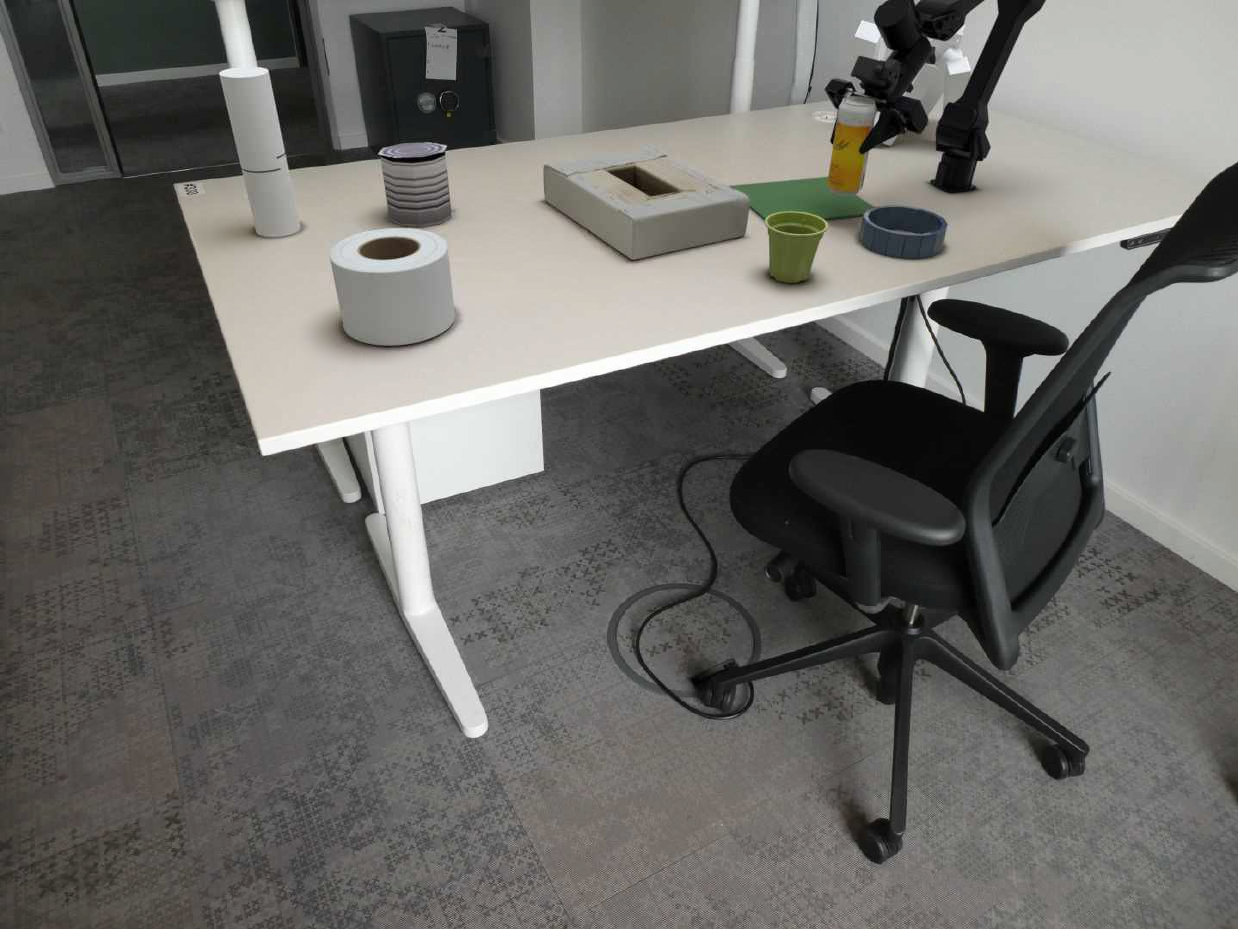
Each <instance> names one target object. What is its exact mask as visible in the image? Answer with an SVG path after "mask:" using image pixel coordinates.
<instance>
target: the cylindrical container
mask: <svg viewBox="0 0 1238 929" xmlns="http://www.w3.org/2000/svg"><path fill="white" fill-rule="evenodd" d="M218 75H219V79H220V84H221V88H222V92H223V97H224V100H225V104H226V107H227V113H228V117H229V121H230V125H231V126H230V127H231V130H232V135H233V139H234V144H235V147H236V152H237V155H238V156H237V157H238V159H239V164H240V168H241V173H242V177H243V181H244V184H245V185H244V186H245V190H246V194H247V198H248V203H249V206H250V211H251V216H252V220H253V223H254V228H255V232H256V234H257V235H258V236H261V237H265V238H281V237H282V238H283V237H287V236H290V235H293V234H296V233H298V232H299V231H300V230H301V225H300V219H299V213H298V209H297V204H296V199H295V195H294V194H295V193H294V190H293V184H292V180H291V174H290V169H289V165H288V160H287V154H286V150H285V146H284V145H285V144H284V141H283V135H282V131H281V130H282V129H281V125H280V120H279V116H278V111H277V105H276V101H275V96H274V95H275V94H274V90H273V87H272V80H271V76H270V72H269V69H268V68H265V67H260V66H259V67H258V66H239V67H230V68H226V69H224V70H220V71H219V73H218Z"/></svg>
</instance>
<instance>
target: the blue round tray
mask: <svg viewBox="0 0 1238 929" xmlns="http://www.w3.org/2000/svg"><path fill="white" fill-rule="evenodd" d="M873 207H874V208H872V209H869V210H867V211H866V212H865V214H864V215H863V216H862V220H861V224H860V225H861V226H860V231H859V235H858V239H859V242H860V243H861V244H862V246H864V247H866V248H867V249H868V250H869V251H871V252H873V253H876V254H877V253H878V254H880V255H883V256H887V257H893V258H899V259H915V260H916V259H918V260H919V259H925V258H931V257H933V256H937V255H938V254H940V253H941V251H942V249H943V246H944V243H945V238H946V235H947V230H948V226H949V223H948V222H947V221H946V219H945V218H944V217H943V216H941V215H939V214H937V213H936V212H933V211H930V210H926V209H924V208H921V207H915V206H908V205H896V204H895V205H893V204H889V205H888V204H887V205H880V206H873ZM895 230H902V231H908V232H909V233H907V232H901V231H895ZM910 232H913V233H910Z"/></svg>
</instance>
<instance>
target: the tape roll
mask: <svg viewBox="0 0 1238 929" xmlns="http://www.w3.org/2000/svg"><path fill="white" fill-rule="evenodd" d="M448 245H449V244H448V242H447V241H446V239H445V238H443V237H442V236H441V235H439V234H437V233H435V232H432V231H428V230H423V229H420V228H419V229H418V228H410V227H407V228H406V227H391V228H390V227H389V228H380V229H373V230H371V229H370V230H366V231H363V232H359V233H356V234H353V235H350V236H348V237H346V238H344V239H342V240H339V242H336V243H335V244H334V245H333V246H332V248H331V249H330V251H329V261H330V265H331V270H332V275H333V276H332V277H333V281H334V286H335V290H336V296H337V301H338V306H339V311H340V312H339V313H340V316H341V317H340V318H341V322H343V323H342V327H343V330H344V332H345V333H346V334H347V335H348V336H349V337H351V338H352V339H353V340H356V341H358V342H360V343H364V344H369V345H374V346H392V347H393V346H404V345H411V344H416V343H421V342H424V341H426V340H427V341H428V340H429V339H432V338H434V337H437V336H439V335H441V334H443V333H444V332H446V331H447V330H448V329H449V328H450V327H451V326H452V325H453V324H454V321H455V320H456V310H455V302H454V294H453V293H454V292H453V282H452V275H451V264H450V254H449V247H448ZM344 326H345V327H344ZM349 331H350V332H349Z"/></svg>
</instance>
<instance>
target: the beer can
mask: <svg viewBox="0 0 1238 929" xmlns="http://www.w3.org/2000/svg"><path fill="white" fill-rule="evenodd" d="M876 110H877V109H876V105H875V101H874V100H873V99H870V98H866V97H858V96H852V97H846V98H843V100H842V102H841V104H840V106H839V110H837V113H838V117H837V116H836V118H837V123H836V130H835V136H834V143H833V145H832V149H831V150H832V151H831V157H830V164H829V170H828V176H827V177H828V182H827V186H828V187H829V188H830V191H831V192H833V193H835V194H838V195H857V194H859V192H860V191H861V190H863V187H864V183H865V182H864V181H865V176H866V171H867V167H868V166H867V165H868V160H869V153H870V150H869V151H868V152H866V153H864V154H860V152H859V149H860V147H861V145H862V144H863V142H864V140H865V139H866V137H867V136H868V135H869V133H870V132H871V130H872V129H873V126H874V121H875V115H876Z"/></svg>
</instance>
